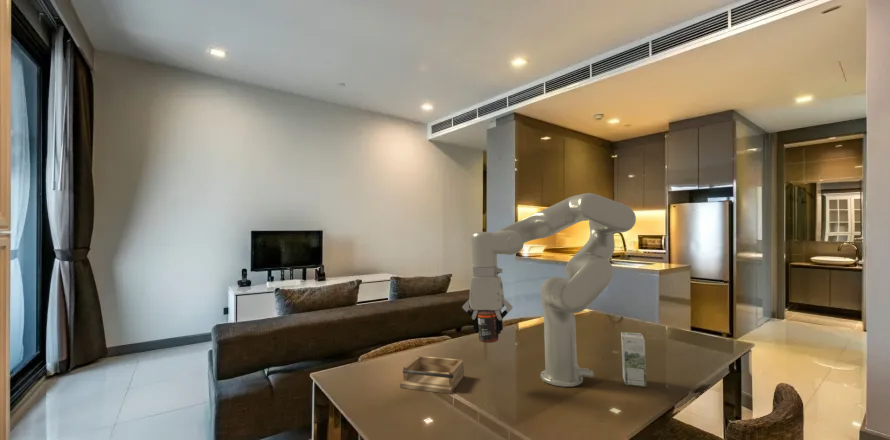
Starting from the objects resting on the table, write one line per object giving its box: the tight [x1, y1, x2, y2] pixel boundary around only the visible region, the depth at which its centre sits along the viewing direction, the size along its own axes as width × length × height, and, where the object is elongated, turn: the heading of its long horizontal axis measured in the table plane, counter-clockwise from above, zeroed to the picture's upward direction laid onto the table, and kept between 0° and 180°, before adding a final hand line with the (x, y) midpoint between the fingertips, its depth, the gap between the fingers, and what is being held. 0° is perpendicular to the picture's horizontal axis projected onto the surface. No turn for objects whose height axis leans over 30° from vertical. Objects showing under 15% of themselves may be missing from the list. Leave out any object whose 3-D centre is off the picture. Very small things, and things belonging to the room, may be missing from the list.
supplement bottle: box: [478, 310, 499, 344], centre depth 110 cm, size 6×6×11 cm
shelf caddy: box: [399, 355, 465, 395], centre depth 113 cm, size 16×14×5 cm
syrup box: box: [620, 331, 647, 388], centre depth 110 cm, size 6×6×14 cm
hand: (488, 331), depth 110 cm, fingers closed on supplement bottle, 6 cm apart
